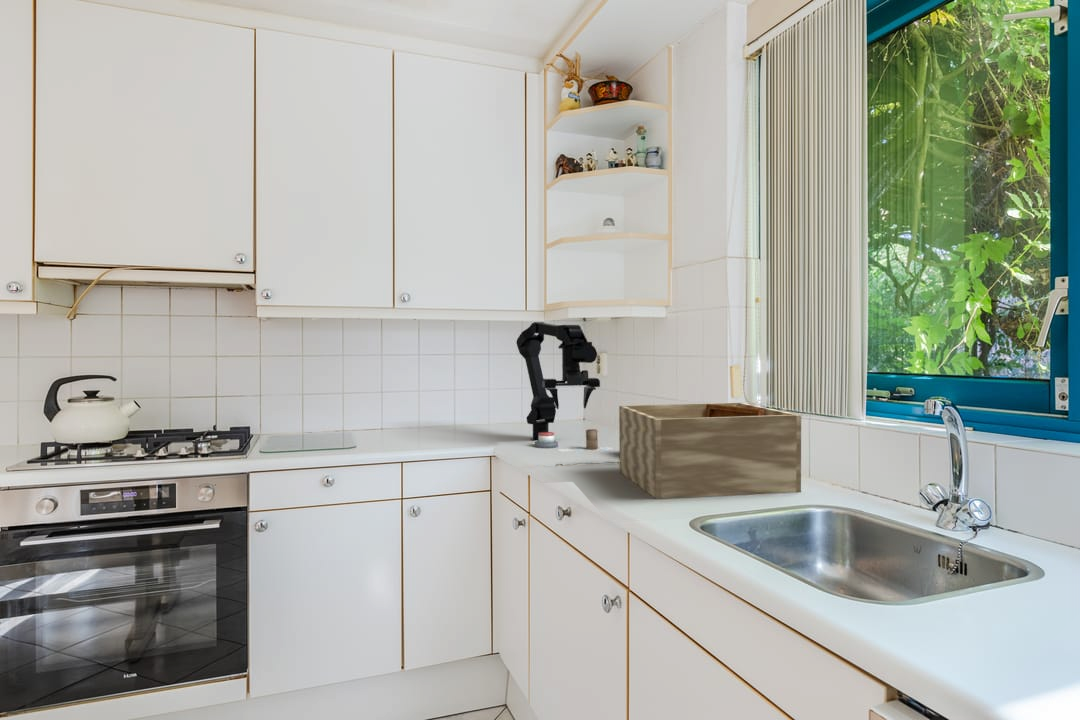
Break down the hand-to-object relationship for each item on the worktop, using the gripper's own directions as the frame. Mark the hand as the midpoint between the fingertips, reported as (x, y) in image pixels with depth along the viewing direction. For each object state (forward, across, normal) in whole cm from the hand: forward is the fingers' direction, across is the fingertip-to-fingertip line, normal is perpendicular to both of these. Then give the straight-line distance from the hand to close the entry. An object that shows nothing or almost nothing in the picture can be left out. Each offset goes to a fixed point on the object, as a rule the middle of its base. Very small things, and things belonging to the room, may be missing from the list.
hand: (571, 408), depth 204 cm
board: (+13, -1, -7) cm, 15 cm away
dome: (+10, -9, -3) cm, 14 cm away
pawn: (+12, +4, -11) cm, 17 cm away
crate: (+13, +23, -54) cm, 60 cm away
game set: (+14, +25, -53) cm, 60 cm away
